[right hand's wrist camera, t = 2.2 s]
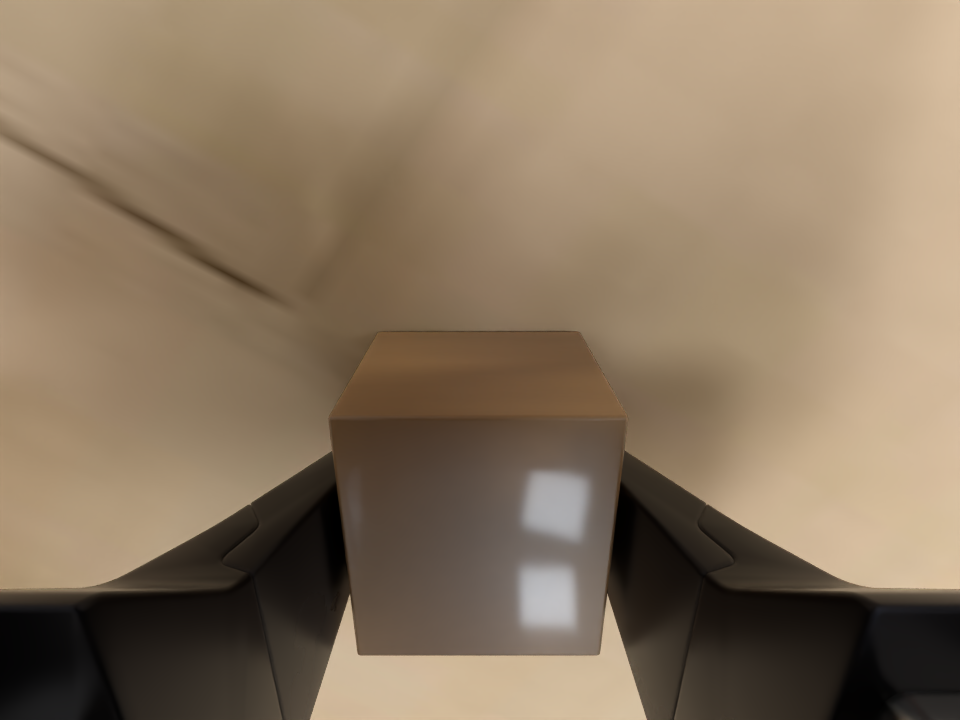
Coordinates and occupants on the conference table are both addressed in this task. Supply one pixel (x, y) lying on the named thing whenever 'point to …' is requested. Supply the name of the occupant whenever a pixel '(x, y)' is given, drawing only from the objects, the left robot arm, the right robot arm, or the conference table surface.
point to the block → (478, 493)
